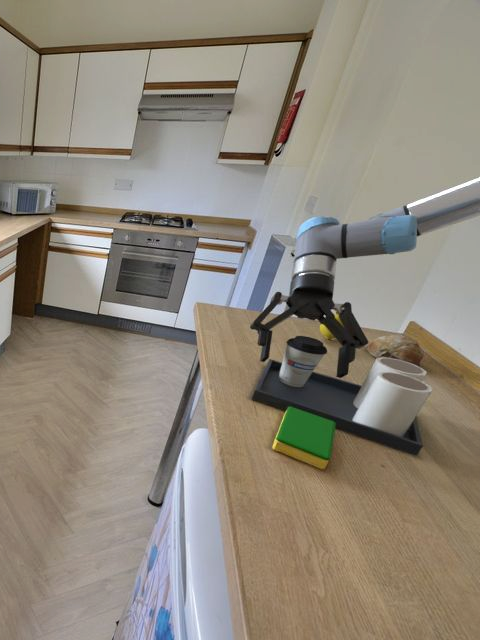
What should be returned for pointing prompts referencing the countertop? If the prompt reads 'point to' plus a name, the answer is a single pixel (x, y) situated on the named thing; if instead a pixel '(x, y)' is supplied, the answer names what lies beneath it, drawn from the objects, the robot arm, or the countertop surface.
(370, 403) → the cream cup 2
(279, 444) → the dish sponge
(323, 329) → the lemon
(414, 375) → the cream cup
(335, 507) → the countertop surface
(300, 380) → the coffee cup
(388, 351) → the bread roll
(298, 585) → the countertop surface
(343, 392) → the cup tray
